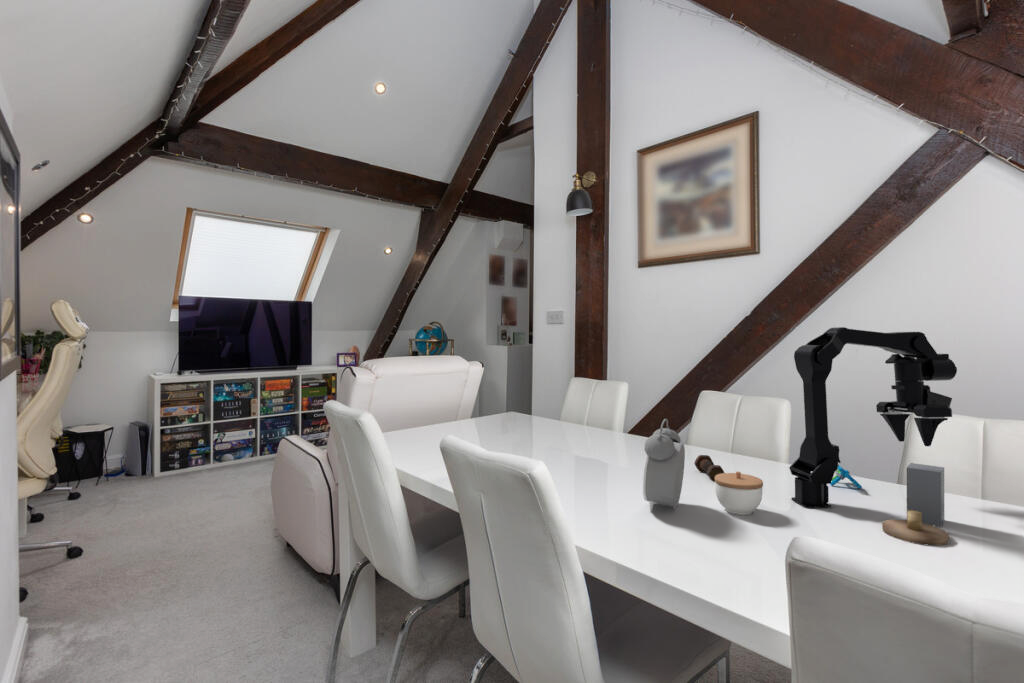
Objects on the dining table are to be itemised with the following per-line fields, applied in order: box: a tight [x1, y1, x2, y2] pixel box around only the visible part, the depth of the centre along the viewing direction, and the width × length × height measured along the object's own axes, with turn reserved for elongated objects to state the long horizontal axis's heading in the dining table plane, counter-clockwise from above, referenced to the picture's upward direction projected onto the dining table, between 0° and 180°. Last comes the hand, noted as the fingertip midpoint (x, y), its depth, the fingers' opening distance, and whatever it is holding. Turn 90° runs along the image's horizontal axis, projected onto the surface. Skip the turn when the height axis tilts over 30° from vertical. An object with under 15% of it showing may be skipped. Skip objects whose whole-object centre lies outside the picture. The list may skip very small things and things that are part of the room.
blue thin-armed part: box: [829, 464, 863, 489], centre depth 141 cm, size 11×6×10 cm
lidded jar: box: [714, 471, 764, 516], centre depth 122 cm, size 11×11×9 cm
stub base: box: [881, 510, 950, 546], centre depth 107 cm, size 11×11×5 cm
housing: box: [906, 462, 945, 528], centre depth 115 cm, size 6×6×12 cm
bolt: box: [694, 454, 725, 482], centre depth 151 cm, size 6×5×15 cm
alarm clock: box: [642, 418, 686, 512], centre depth 125 cm, size 16×9×22 cm, turn 154°
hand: (914, 443), depth 126 cm, fingers open, 9 cm apart
